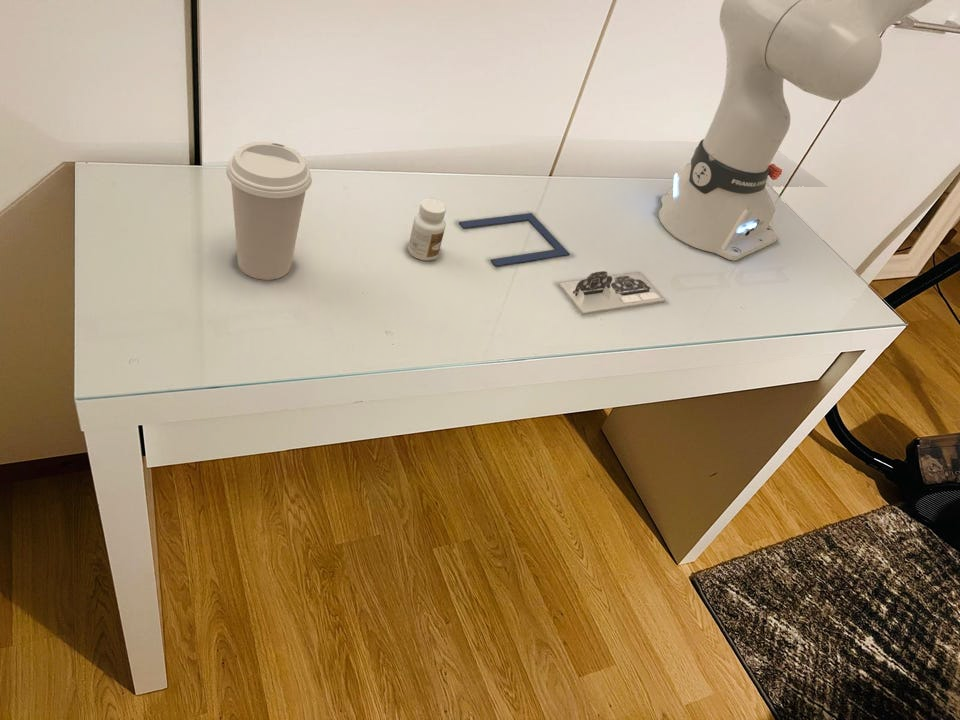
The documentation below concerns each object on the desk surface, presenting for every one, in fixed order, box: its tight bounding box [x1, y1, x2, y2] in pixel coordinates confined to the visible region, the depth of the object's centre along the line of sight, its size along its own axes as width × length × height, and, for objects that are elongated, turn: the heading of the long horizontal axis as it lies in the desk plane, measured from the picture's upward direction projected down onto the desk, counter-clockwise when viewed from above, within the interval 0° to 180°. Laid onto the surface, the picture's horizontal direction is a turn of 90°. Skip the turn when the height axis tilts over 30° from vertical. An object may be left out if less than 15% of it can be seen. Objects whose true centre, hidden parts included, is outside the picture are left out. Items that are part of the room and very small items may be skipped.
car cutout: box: [557, 270, 666, 316], centre depth 109 cm, size 15×7×4 cm, turn 117°
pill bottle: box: [407, 198, 447, 261], centre depth 104 cm, size 4×4×8 cm
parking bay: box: [458, 212, 570, 268], centre depth 115 cm, size 14×11×1 cm
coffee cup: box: [225, 141, 313, 281], centre depth 92 cm, size 10×10×15 cm
